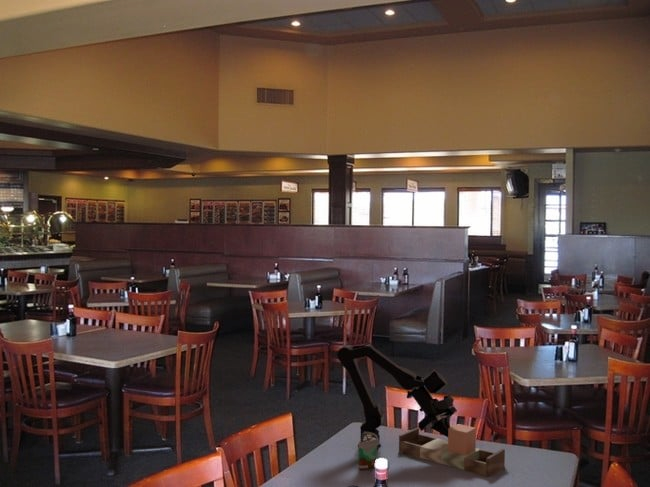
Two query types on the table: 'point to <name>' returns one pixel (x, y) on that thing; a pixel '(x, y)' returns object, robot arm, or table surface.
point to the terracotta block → (461, 439)
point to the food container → (368, 451)
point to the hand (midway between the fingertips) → (452, 438)
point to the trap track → (450, 454)
